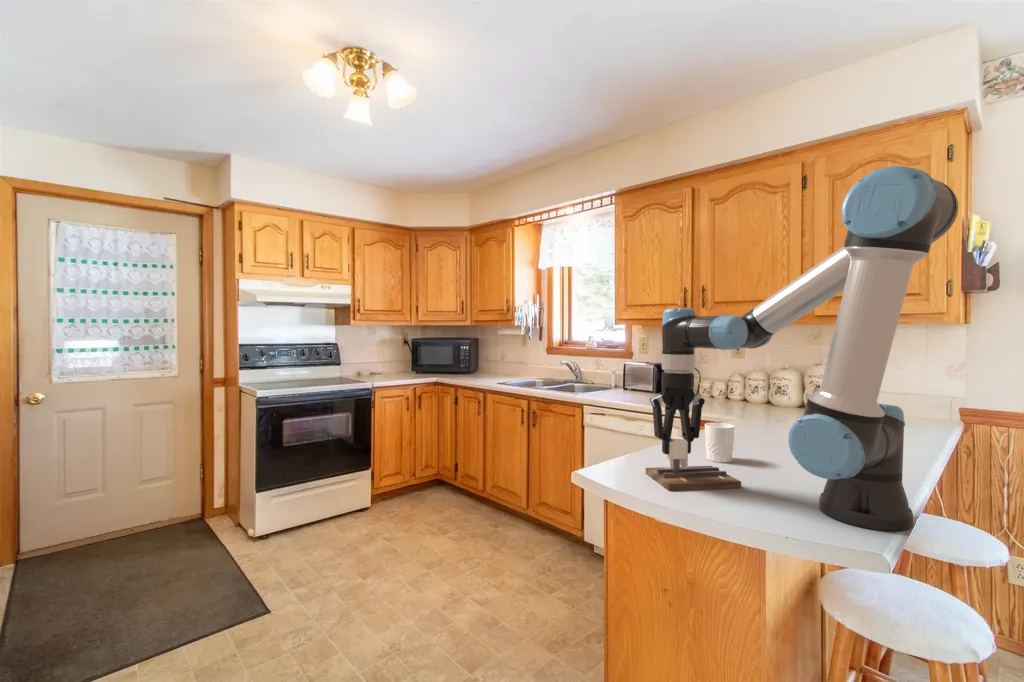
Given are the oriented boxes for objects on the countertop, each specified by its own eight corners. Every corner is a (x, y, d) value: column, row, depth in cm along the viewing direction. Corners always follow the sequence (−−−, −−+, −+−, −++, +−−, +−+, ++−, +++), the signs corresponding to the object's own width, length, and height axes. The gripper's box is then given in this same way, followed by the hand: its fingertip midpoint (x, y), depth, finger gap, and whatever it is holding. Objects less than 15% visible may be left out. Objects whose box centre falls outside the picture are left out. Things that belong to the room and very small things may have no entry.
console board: (741, 487, 112) (741, 477, 112) (668, 490, 110) (668, 479, 110) (711, 471, 125) (711, 462, 125) (645, 473, 123) (645, 464, 122)
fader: (685, 475, 115) (686, 440, 115) (674, 475, 114) (674, 440, 114) (678, 470, 119) (678, 436, 119) (666, 470, 118) (667, 436, 118)
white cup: (728, 456, 140) (728, 422, 140) (738, 464, 132) (738, 428, 132) (700, 455, 141) (701, 422, 140) (708, 463, 133) (709, 427, 133)
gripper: (700, 370, 121) (699, 461, 121) (640, 370, 119) (638, 463, 119) (717, 372, 113) (715, 470, 114) (652, 373, 111) (651, 472, 112)
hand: (676, 466), depth 117 cm, fingers closed on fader, 3 cm apart
